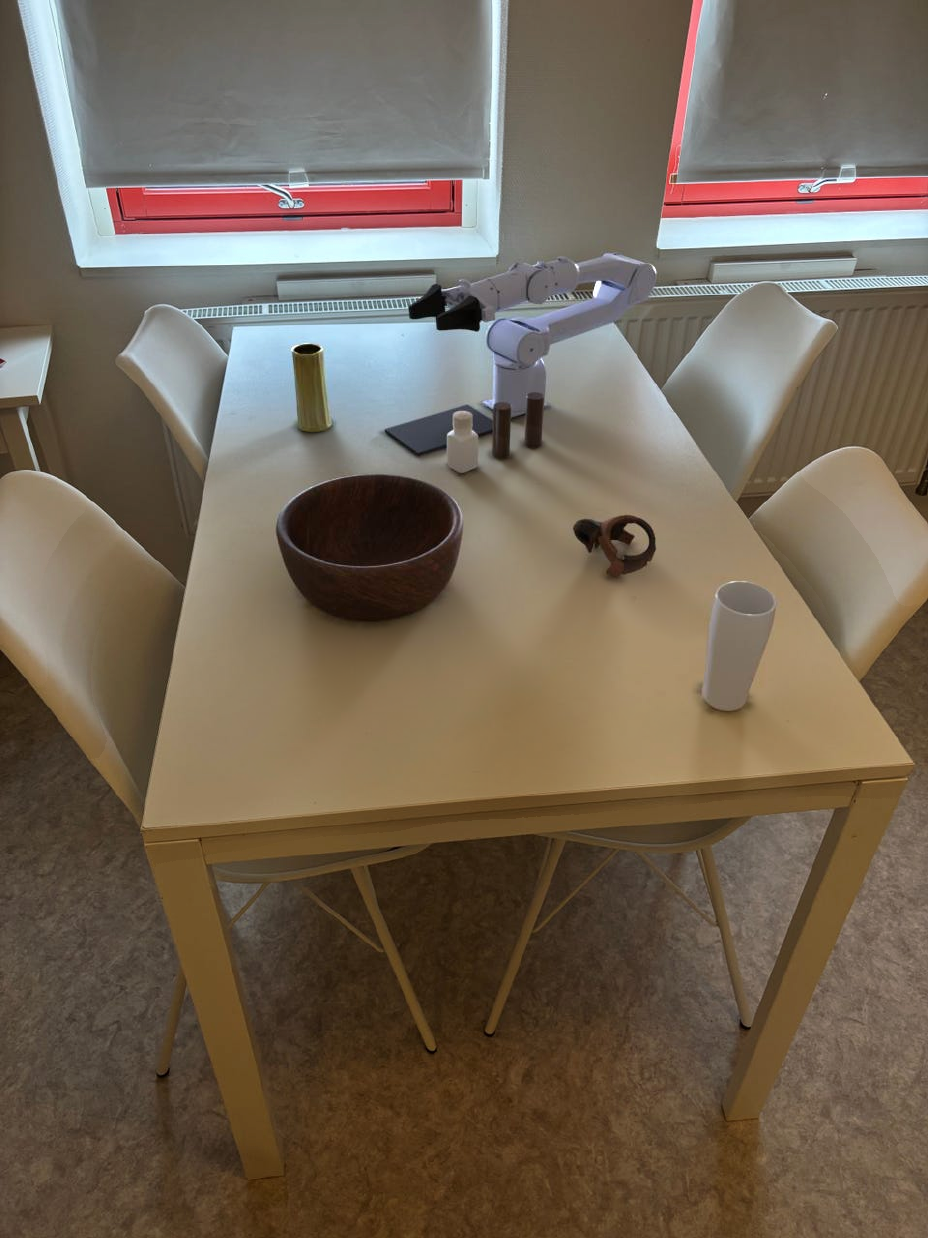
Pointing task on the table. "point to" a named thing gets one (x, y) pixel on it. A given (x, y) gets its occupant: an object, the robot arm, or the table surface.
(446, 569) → the wooden bowl
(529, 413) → the walnut dowel
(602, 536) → the brown curled ring figurine
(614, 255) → the robot arm
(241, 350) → the table surface
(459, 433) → the pepper shaker
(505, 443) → the walnut dowel
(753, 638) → the drinking glass
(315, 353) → the vase
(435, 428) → the mat
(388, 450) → the table surface
